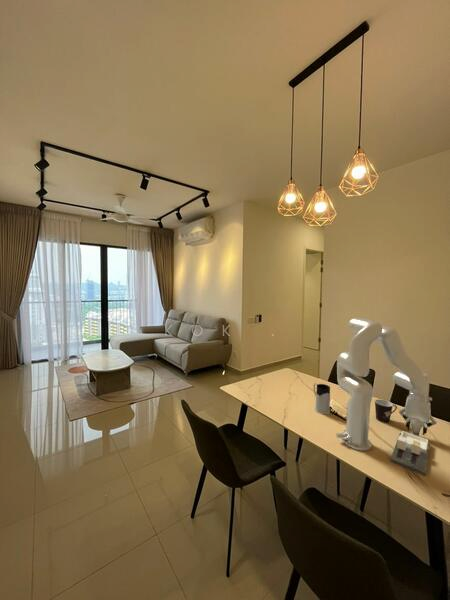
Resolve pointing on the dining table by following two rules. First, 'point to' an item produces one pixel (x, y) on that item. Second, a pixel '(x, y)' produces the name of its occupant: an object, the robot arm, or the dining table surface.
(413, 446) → the toggle tagged
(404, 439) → the toggle
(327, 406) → the grey black pitcher
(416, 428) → the lightbulb
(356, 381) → the robot arm
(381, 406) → the coffee mug
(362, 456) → the dining table surface
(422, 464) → the panel
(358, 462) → the dining table surface
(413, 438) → the socket tray
